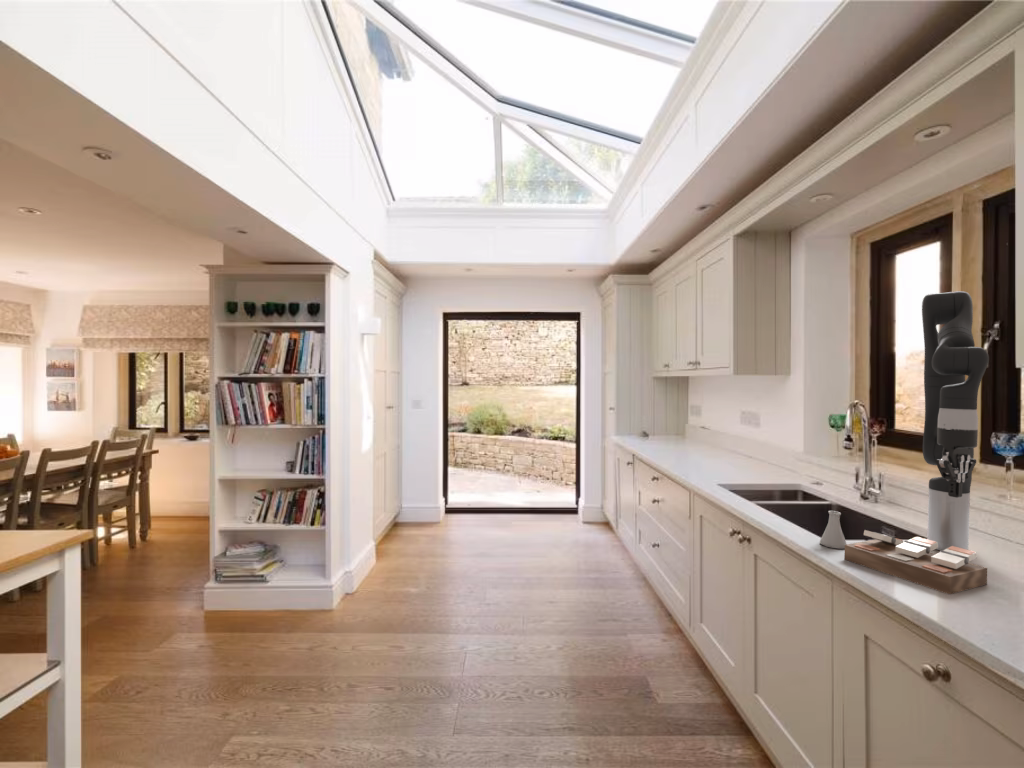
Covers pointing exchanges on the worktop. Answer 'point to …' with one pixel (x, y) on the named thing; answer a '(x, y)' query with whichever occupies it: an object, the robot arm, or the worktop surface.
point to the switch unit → (915, 567)
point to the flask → (833, 532)
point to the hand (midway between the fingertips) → (955, 496)
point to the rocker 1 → (883, 537)
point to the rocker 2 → (916, 547)
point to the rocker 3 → (954, 557)
